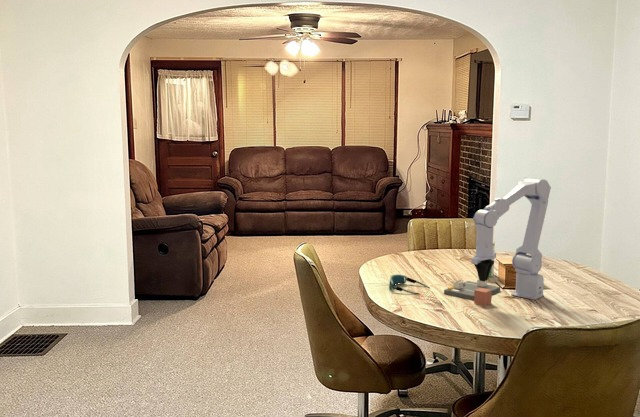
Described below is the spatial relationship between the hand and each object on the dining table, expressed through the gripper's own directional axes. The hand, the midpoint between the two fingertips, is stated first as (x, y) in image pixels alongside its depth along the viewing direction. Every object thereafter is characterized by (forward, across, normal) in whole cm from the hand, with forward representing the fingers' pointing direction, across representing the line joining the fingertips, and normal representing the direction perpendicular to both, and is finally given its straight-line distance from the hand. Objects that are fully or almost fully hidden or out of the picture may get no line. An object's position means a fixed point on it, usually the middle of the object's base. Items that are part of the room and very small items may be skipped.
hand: (483, 280), depth 219 cm
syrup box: (+9, +38, +19) cm, 43 cm away
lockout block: (+8, 0, 0) cm, 8 cm away
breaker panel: (+8, +10, +10) cm, 17 cm away
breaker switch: (+7, +16, +9) cm, 20 cm away
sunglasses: (+9, -2, +31) cm, 33 cm away
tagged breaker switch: (+7, +7, +14) cm, 17 cm away
